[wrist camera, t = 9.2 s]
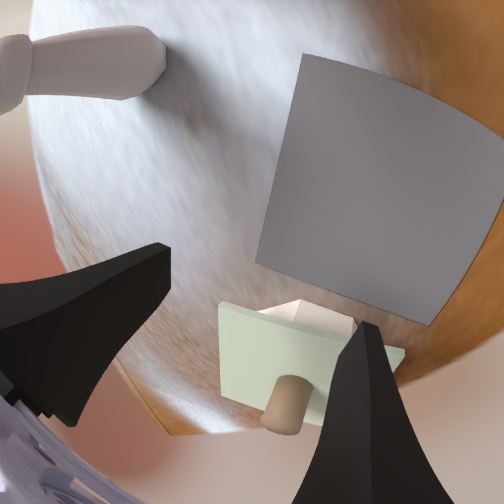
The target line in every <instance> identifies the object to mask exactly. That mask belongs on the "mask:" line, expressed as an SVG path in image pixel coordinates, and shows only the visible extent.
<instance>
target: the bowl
mask: <svg viewBox="0 0 504 504" xmlns="http://www.w3.org/2000/svg"><path fill="white" fill-rule="evenodd" d="M257 312H260V313H263V314H266V315H270V316H273V317H277V318H280V319H284V320H287V321H291V322H294V323H298V324H301V325H305V326H309V327H313V328H316V329H320V330H324V331H328V332H332V333H336V334H340V335H344V336H348V337H352V336H353V334H354V333H355V331H356V330H357V328H358V327H357V325H356V323H355V321H354V319H353V318H352V317H349V316H346V315H343V314H340V313H338V312H335V311H332V310H329V309H327V308H324V307H321V306H318V305H316V304H313V303H310V302H307V301H305V300H302V299H300V300H296V301H293V302H289V303H286V304H282V305H279V306H275V307H271V308H268V309H264V310H260V311H257Z"/></svg>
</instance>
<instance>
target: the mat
mask: <svg viewBox="0 0 504 504" xmlns="http://www.w3.org/2000/svg"><path fill="white" fill-rule="evenodd" d="M503 199H504V139H502V138H501V137H499V136H498V135H497V134H495V133H494V132H492V131H491V130H489V129H488V128H486V127H485V126H483V125H482V124H480V123H479V122H477V121H475V120H474V119H472V118H471V117H469V116H467V115H466V114H464V113H462V112H460V111H459V110H457V109H455V108H453V107H451V106H450V105H448V104H446V103H444V102H442V101H440V100H438V99H436V98H434V97H432V96H430V95H428V94H426V93H424V92H421V91H419V90H417V89H415V88H413V87H410V86H408V85H406V84H403V83H401V82H398V81H396V80H393V79H391V78H388V77H385V76H383V75H380V74H377V73H374V72H371V71H368V70H365V69H362V68H359V67H356V66H352V65H349V64H345V63H342V62H338V61H334V60H330V59H326V58H322V57H318V56H314V55H309V54H304V53H303V55H302V59H301V64H300V68H299V73H298V77H297V82H296V86H295V91H294V95H293V99H292V104H291V108H290V113H289V117H288V122H287V126H286V130H285V135H284V139H283V143H282V148H281V152H280V157H279V161H278V165H277V170H276V174H275V178H274V183H273V187H272V191H271V196H270V200H269V204H268V209H267V213H266V217H265V222H264V226H263V230H262V234H261V239H260V243H259V247H258V251H257V256H256V260H255V263H257V264H260V265H262V266H265V267H268V268H270V269H273V270H276V271H278V272H281V273H284V274H287V275H289V276H292V277H295V278H297V279H300V280H303V281H305V282H308V283H311V284H314V285H316V286H319V287H322V288H324V289H327V290H330V291H333V292H335V293H338V294H341V295H344V296H346V297H349V298H352V299H355V300H357V301H360V302H363V303H366V304H368V305H371V306H374V307H377V308H379V309H382V310H385V311H388V312H390V313H393V314H396V315H399V316H402V317H404V318H407V319H410V320H413V321H416V322H418V323H421V324H424V325H427V326H429V325H430V324H431V322H432V321H433V320H434V318H435V317H436V316H437V314H438V313H439V312H440V310H441V309H442V308H443V306H444V305H445V303H446V302H447V301H448V299H449V298H450V296H451V295H452V293H453V292H454V290H455V289H456V287H457V286H458V284H459V283H460V281H461V279H462V278H463V276H464V275H465V273H466V271H467V270H468V268H469V266H470V265H471V263H472V261H473V260H474V258H475V256H476V254H477V253H478V251H479V249H480V247H481V245H482V243H483V241H484V239H485V238H486V236H487V234H488V232H489V230H490V228H491V226H492V223H493V221H494V219H495V217H496V215H497V213H498V210H499V208H500V206H501V203H502V201H503Z"/></svg>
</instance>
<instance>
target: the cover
mask: <svg viewBox="0 0 504 504" xmlns="http://www.w3.org/2000/svg"><path fill="white" fill-rule="evenodd" d="M218 319H219V353H220V378H221V396H224V397H227V398H229V399H232V400H235V401H238V402H240V403H243V404H246V405H249V406H252V407H255V408H258V409H261V410H264V413H263V416H262V418H261V421H260V423H261V425H262V426H263V427H264V428H266V429H267V430H269V431H272V432H274V433H278V434H282V435H296V434H298V433H299V432H300V429H301V426H302V423H303V422H307V423H311V424H315V425H319V426H323V421H324V416H325V411H326V406H327V401H328V396H329V391H330V385H331V380H332V377H333V373H334V369H335V366H336V363H337V359H338V356H339V354H340V353H341V351H342V350H343V349H344V347H345V346H346V344H347V343H348V341H349V340H350V339H351V337H348V336H344V335H340V334H336V333H332V332H328V331H324V330H320V329H316V328H313V327H309V326H305V325H301V324H298V323H294V322H291V321H287V320H284V319H280V318H277V317H273V316H270V315H266V314H263V313H260V312H256V311H253V310H250V309H246V308H243V307H240V306H237V305H234V304H230V303H227V302H224V301H222V302H221V303H220V304H219V306H218ZM384 347H385V350H386V353H387V356H388V360H389V363H390V366H391V369H392V372H394V371H395V369H396V368H397V367H398V365H399V364H400V362H401V361H402V360H403V358H404V357H405V349H401V348H396V347H391V346H387V345H384Z"/></svg>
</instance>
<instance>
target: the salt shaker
mask: <svg viewBox="0 0 504 504" xmlns="http://www.w3.org/2000/svg"><path fill="white" fill-rule="evenodd" d="M166 68H167V58H166V46H165V45H164V44H163V43H162V42H161V40H160V39H159V38H158V37H157V36H156V35H154V34H153V33H152V32H151V31H150V30H149V29H148V28H145V27H142V26H133V25H128V26H114V27H104V28H96V29H88V30H82V31H76V32H71V33H65V34H61V35H56V36H52V37H47V38H44V39H40V40H36V41H32V42H31V40H30V38H29V36H28V35H24V34H18V35H9V36H5V37H2V38H0V115H2V114H4V113H7V112H9V111H11V110H13V109H14V108H15V107H17V106H18V105H19V104H20V103H21V102H22V100H23V98H24V95H67V96H83V97H94V98H104V99H113V100H124V99H128V98H132V97H135V96H138V95H140V94H141V93H142V92H144V91H145V90H147V89H148V88H150V87H151V86H153V85H154V83H155V82H156V81H157V79H158V78H159V77H160V76H161V74H162V73H163V72H164V71H165V70H166Z"/></svg>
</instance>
